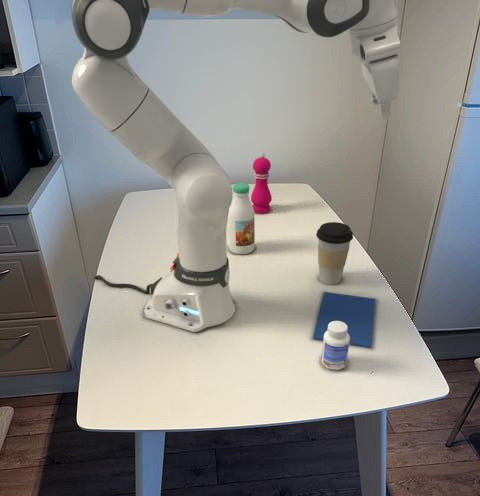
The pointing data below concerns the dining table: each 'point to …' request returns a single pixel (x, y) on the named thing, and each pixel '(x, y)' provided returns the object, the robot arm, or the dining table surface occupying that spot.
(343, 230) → the coffee cup
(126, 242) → the dining table surface
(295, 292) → the dining table surface
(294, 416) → the dining table surface
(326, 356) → the pill bottle
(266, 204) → the pepper mill
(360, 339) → the blue pad
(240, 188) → the milk bottle
